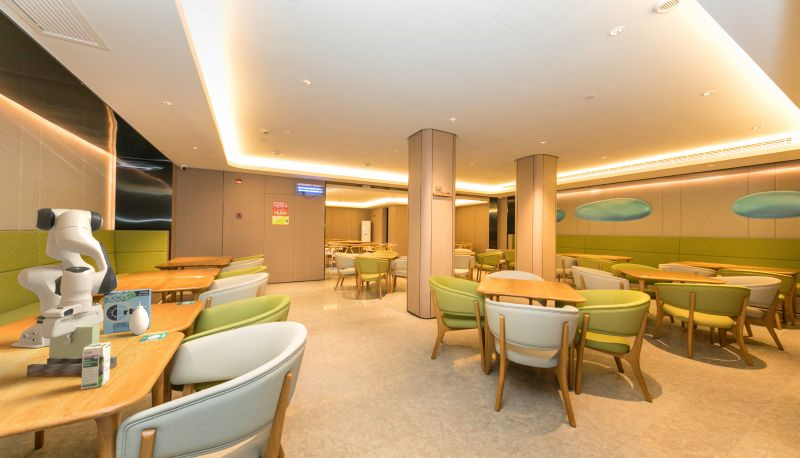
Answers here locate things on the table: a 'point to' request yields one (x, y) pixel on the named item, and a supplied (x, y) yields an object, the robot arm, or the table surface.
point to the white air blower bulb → (139, 321)
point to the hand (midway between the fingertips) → (74, 341)
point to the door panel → (75, 342)
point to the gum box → (124, 308)
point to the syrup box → (95, 365)
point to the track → (61, 367)
